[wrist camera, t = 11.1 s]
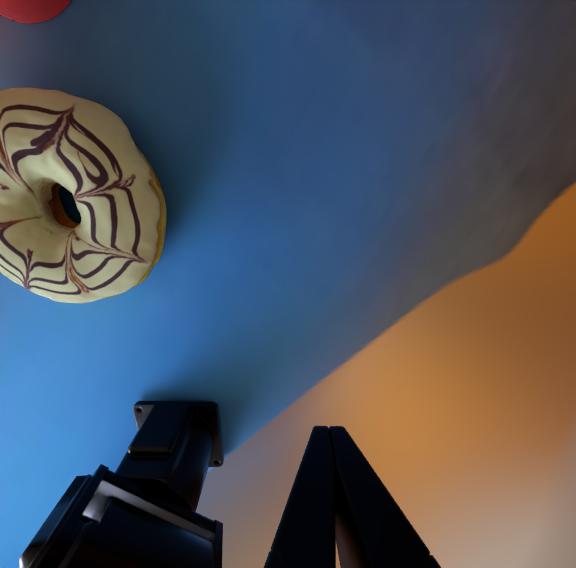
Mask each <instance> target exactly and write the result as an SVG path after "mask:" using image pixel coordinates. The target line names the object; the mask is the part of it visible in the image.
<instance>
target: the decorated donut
mask: <svg viewBox="0 0 576 568" xmlns="http://www.w3.org/2000/svg"><path fill="white" fill-rule="evenodd" d="M60 185H62V186H63V187H65V188H66V189H67V190H69V191H70V192H71V193H72V194H73V197H74V200H75V203H76V205H77V208H78V210H79V212H80V214H81V223H80V224H78V223H74V222H73V221H72V220H71V219H69V217H67V214H66V213H65V211H64V208H63V206H62V204H61V201H60V198H59V197H60V195H59V189H60ZM166 211H167V210H166V203H165V198H164V195H163V190H162V188H161V185H160V182H159V180H158V178H157V176H156V175H155V173H154V171H153V169H152V166H151V165H150V163H149V162H148V161H147V159H146V158H145V157H144V155H143V153H142V152H141V151H140V150H139V149H138V147H137V146H136V145H135V143H134V141H133V139H132V138H131V135H130V132H129V130H128V128H127V127H126V125H125V124H124V122H123V121H122V119H121V118H120V117H119V116H117V115H116V114H115V113H114V112H112V111H111V110H109V109H108V108H106V107H104V106H102V105H100V104H98V103H95V102H93V101H90V100H86V99H84V98H80V97H75V96H73V95H70V94H67V93H65V92H62V91H59V90H52V89H50V90H45V89H40V88H30V87H23V88H8V89H5V90H0V272H1V273H2V274H3V275H5V276H7V277H8V278H9V279H11V280H12V281H13V282H15V283H17V284H20V285H21V286H23V287H25V288H26V289H28V290H29V291H31V292H33V293H35V294H38V295H41V296H44V297H47V298H50V299H51V300H53V301H59V302H67V303H86V302H91V301H95V300H99V299H102V298H108V297H112V296H115V295H118V294H121V293H124V292H126V291H127V290H129V289H131V288H133V287H134V286H136V285H138V284H139V283H141V282H142V281H144V280H145V279H146V278H147V277H148V275H149V273H150V272H151V270H152V268H153V266H154V265H155V264H156V263H157V262H158V261H159V260H160V256H161V255H162V251H163V246H164V241H165V230H166V223H167V215H166V213H167V212H166Z"/></svg>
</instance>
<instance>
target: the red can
mask: <svg viewBox="0 0 576 568" xmlns="http://www.w3.org/2000/svg"><path fill="white" fill-rule="evenodd" d="M70 2H71V0H0V15H1V16H3V17H5V18H7V19H10V20H13V21H16V22H21V23H41V22H44V21H48V20H50V19H52V18H54V17H56V16H57V15H58V14H60V13H61V12H62V11H63V10H64V9H65V8H66V7H67V6H68V5H69V3H70Z"/></svg>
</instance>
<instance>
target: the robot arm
mask: <svg viewBox="0 0 576 568" xmlns="http://www.w3.org/2000/svg"><path fill="white" fill-rule="evenodd" d="M141 408H142V409H141ZM209 408H211V409H213V410H211V409H209ZM133 413H134V417H135V421H136V425H137V430H138V432H137V434H136V435H135V437H134V439H133V440H132V442H131V444H130V445H129V447H128V451H127V453H126V454H125V456H124V458H123V460H122V461H121V463H120V465H119V466H118V468H117V470H116V472H115V473H114V472H112V471H110V470H108V469H109V468H108V467H106V466H104V465H102V464H101V465H100V466H99V467H98V469H97V470H96V471H95V473H94V474H93V475H90V474H89V475H86V476H76V478H75V479H74V481H73V482H72V483H71V485H70V486H69V488H68V489H67V490H66V492H65V493H64V495H63V496H62V498H61V499H60V500H59V502H58V503H57V505H56V506H55V508H54V509H53V510H52V512H51V513H50V515H49V516H48V518H47V519H46V520H45V522H44V523H43V525H42V526H41V528H40V529H39V531H38V532H37V534H36V535H35V536H34V538H33V539H32V541H31V542H30V544H29V545H28V547H27V548H26V550H25V551H24V552H23V554H22V555H21V557H20V558H19V568H222V537H223V523H221V522H219V521H217V520H214V521H213V520H211V519H209V518H207V517H205V516H202V515H201V514H199V513H196V508H197V505H198V501H199V498H200V494H201V490H202V487H203V484H204V480H205V477H206V474H207V470H208V467H220V466H222V464H223V461H224V454H223V444H222V435H221V426H220V417H219V408H218V405H217V404H216V403H214V402H176V401H138V402H136V404H135V405H134V407H133ZM336 544H337V549H338V555H339V561H340V566H341V568H441V567H440V565H439V564H438V562H437V561H436V559H435V558H434V557H433V556H432V555H430V551H429V550H428V548H427V547H426V545H425V544H424V542H423V541H422V540H421V538H420V536H419V535H418V534H417V532H416V531H415V529H414V528H413V526H412V525H411V524H410V522H409V521H408V519H407V518H406V516H405V515H404V513H403V512H402V510H401V509H400V507H399V506H398V505H397V503H396V502H395V501H394V499H393V497H392V496H391V494H390V493H389V492H388V490H387V489H386V487H385V486H384V484H383V483H382V481H381V480H380V478H379V477H378V476H377V474H376V473H375V472H374V470H373V469H372V467H371V465H370V464H369V462H368V461H367V460H366V458H365V457H364V455H363V454H362V452H361V451H360V450H359V448H358V447H357V445H356V444H355V442H354V441H353V439H352V438H351V436H350V435H349V434H348V432H347V431H346V429H345V428H344V427H342V426H331V427H329V428H328V427H327V426H314V428H313V430H312V433H311V436H310V439H309V441H308V444H307V447H306V450H305V453H304V455H303V458H302V461H301V464H300V467H299V470H298V472H297V475H296V478H295V481H294V484H293V487H292V489H291V492H290V495H289V498H288V501H287V504H286V507H285V510H284V512H283V515H282V518H281V521H280V524H279V526H278V529H277V532H276V535H275V538H274V541H273V544H272V547H271V551H270V552H269V554H268V557H267V560H266V563H265V566H264V568H336V564H335V563H336V559H335V558H336V551H335V550H336ZM429 555H430V556H429Z"/></svg>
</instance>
